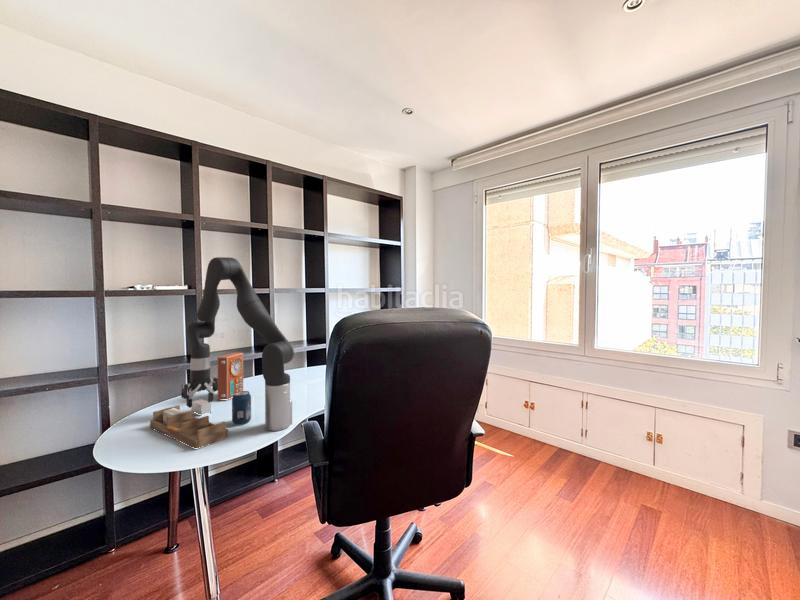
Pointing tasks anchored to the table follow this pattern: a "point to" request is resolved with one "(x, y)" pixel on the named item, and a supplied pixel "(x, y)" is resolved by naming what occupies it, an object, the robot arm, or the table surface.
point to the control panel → (230, 375)
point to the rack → (188, 427)
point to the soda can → (241, 408)
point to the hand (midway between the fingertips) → (200, 404)
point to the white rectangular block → (201, 406)
